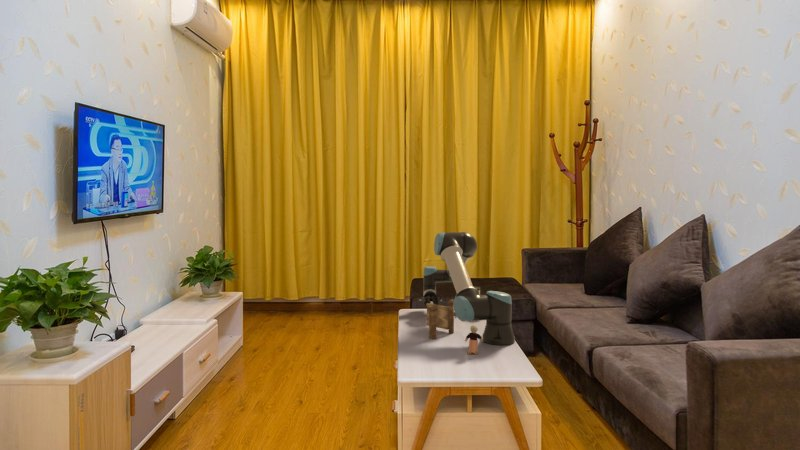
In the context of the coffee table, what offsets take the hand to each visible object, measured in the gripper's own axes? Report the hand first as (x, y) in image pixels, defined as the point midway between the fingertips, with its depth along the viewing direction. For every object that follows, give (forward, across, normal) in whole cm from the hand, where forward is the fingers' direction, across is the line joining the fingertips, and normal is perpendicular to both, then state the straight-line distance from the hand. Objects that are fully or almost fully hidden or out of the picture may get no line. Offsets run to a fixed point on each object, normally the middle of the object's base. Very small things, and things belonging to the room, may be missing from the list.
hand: (431, 306), depth 272 cm
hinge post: (+13, -9, -10) cm, 19 cm away
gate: (+7, -3, -9) cm, 12 cm away
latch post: (+23, 0, -10) cm, 25 cm away
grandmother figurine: (+46, -16, -10) cm, 49 cm away
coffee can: (-34, -25, -11) cm, 44 cm away
